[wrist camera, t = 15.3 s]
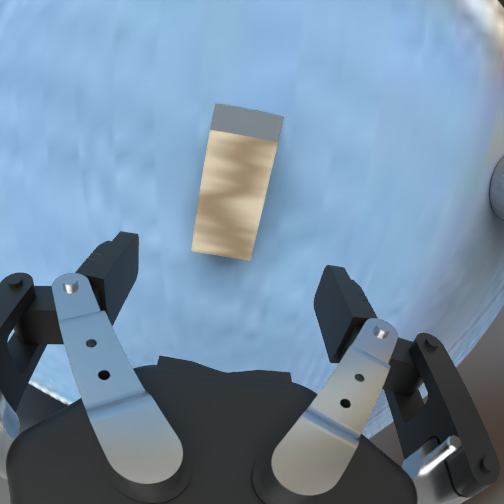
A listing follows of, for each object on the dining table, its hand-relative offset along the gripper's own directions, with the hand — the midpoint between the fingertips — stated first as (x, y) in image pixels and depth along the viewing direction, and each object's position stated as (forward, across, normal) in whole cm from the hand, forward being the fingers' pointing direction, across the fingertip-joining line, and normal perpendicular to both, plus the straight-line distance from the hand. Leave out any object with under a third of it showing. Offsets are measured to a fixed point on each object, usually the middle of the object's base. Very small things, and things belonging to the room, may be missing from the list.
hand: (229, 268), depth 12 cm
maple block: (+14, 0, +6) cm, 15 cm away
